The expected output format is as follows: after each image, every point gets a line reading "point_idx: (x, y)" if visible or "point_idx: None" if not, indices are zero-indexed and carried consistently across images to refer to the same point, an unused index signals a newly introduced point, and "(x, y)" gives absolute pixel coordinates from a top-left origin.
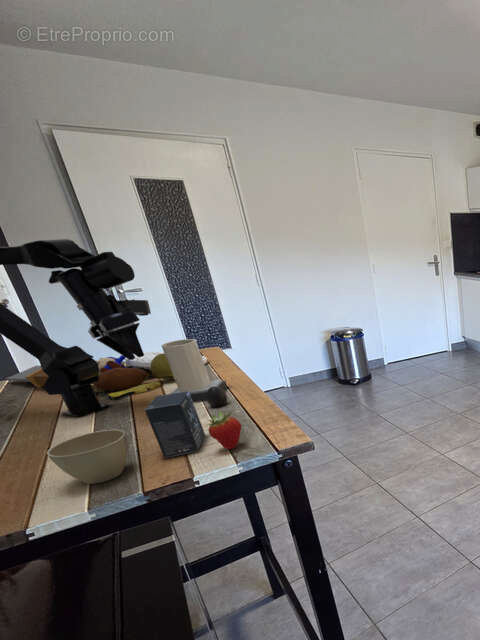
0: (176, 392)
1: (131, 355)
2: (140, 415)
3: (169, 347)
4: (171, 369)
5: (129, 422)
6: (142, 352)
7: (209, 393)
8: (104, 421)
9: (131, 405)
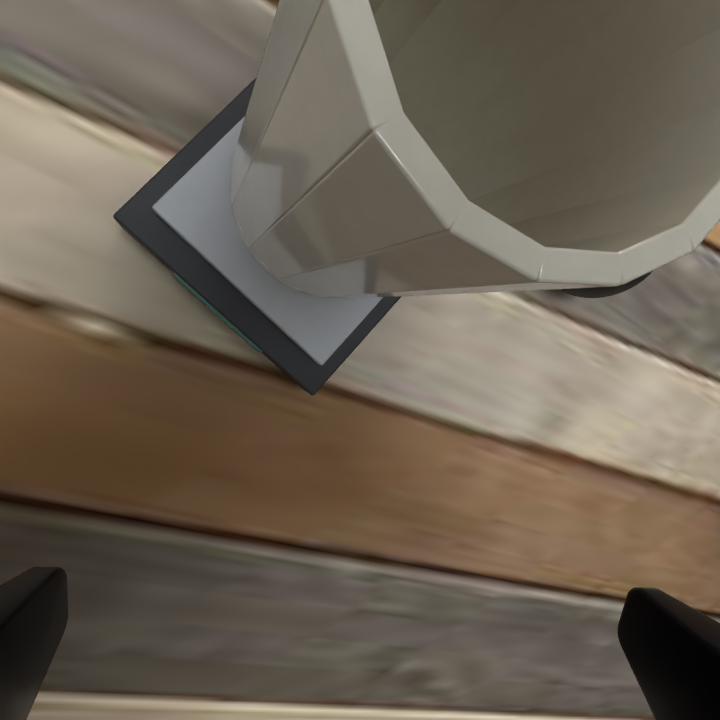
0: (328, 323)
1: (39, 631)
2: (321, 522)
3: (677, 250)
4: (383, 294)
5: (374, 578)
6: (696, 618)
7: (640, 281)
8: (224, 661)
9: (43, 509)
